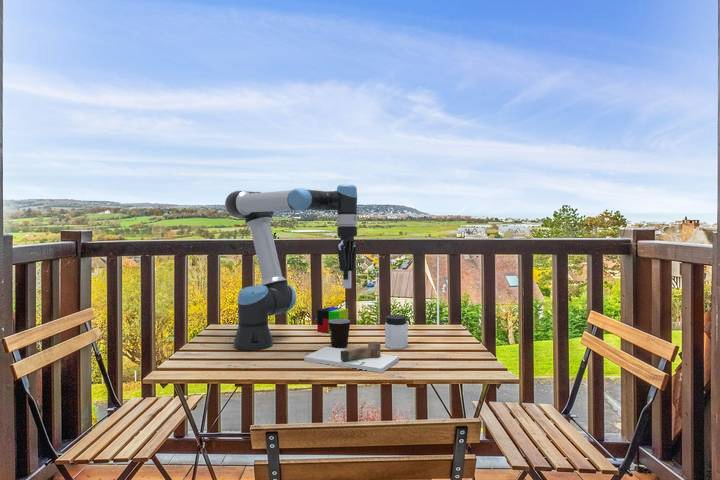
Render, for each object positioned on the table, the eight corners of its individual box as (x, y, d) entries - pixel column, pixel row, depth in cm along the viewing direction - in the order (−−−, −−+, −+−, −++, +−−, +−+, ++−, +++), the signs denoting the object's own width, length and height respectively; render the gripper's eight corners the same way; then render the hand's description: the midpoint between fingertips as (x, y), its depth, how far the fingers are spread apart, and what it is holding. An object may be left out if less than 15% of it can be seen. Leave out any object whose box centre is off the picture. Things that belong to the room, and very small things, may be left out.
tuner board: (304, 361, 161) (304, 356, 161) (326, 350, 174) (326, 346, 174) (381, 373, 148) (381, 368, 148) (398, 360, 161) (398, 356, 161)
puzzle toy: (331, 327, 214) (331, 306, 214) (348, 330, 208) (348, 309, 208) (317, 331, 206) (317, 309, 206) (334, 334, 200) (334, 312, 200)
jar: (406, 343, 184) (406, 314, 184) (408, 349, 176) (408, 318, 176) (384, 343, 184) (384, 314, 184) (385, 349, 176) (385, 318, 176)
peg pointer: (345, 362, 153) (345, 349, 153) (339, 359, 157) (339, 346, 157) (382, 356, 161) (382, 343, 160) (376, 353, 164) (376, 341, 164)
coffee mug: (347, 349, 176) (347, 324, 176) (326, 348, 178) (326, 323, 177) (353, 342, 187) (353, 318, 187) (333, 341, 189) (333, 317, 189)
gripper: (347, 225, 164) (348, 290, 165) (363, 225, 176) (363, 286, 176) (329, 225, 167) (330, 289, 168) (346, 225, 179) (346, 285, 180)
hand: (347, 287), depth 172 cm, fingers closed
